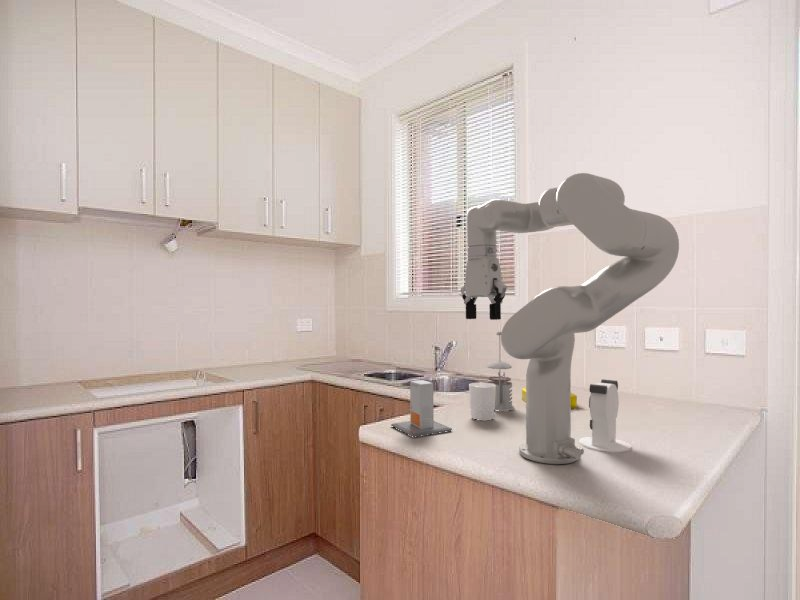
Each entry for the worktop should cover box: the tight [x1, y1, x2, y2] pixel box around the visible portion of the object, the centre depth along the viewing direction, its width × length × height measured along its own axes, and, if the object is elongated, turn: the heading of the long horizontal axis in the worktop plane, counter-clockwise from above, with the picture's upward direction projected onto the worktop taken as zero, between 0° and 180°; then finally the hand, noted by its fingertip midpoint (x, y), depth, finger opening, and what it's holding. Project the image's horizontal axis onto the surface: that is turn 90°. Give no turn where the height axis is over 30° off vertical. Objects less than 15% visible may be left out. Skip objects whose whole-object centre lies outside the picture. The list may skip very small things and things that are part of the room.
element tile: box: [521, 387, 578, 409], centre depth 154 cm, size 15×15×5 cm
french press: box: [486, 331, 516, 412], centre depth 146 cm, size 10×12×25 cm
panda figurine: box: [578, 378, 632, 454], centre depth 109 cm, size 12×11×15 cm
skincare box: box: [409, 379, 435, 429], centre depth 122 cm, size 6×4×12 cm
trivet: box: [390, 420, 453, 437], centre depth 123 cm, size 12×12×1 cm
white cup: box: [468, 382, 496, 421], centre depth 134 cm, size 8×8×10 cm
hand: (482, 319), depth 118 cm, fingers open, 9 cm apart
